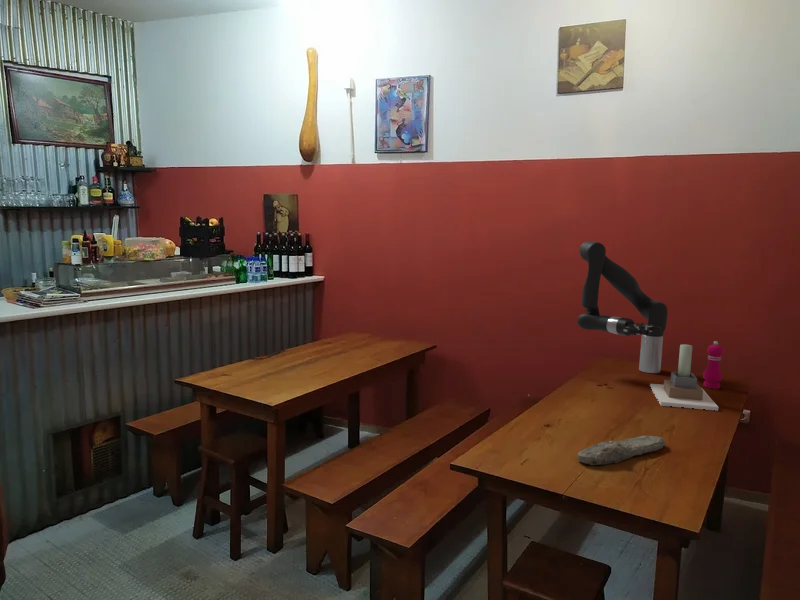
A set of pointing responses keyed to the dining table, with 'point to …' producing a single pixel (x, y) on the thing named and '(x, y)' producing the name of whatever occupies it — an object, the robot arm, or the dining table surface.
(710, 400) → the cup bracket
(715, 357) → the pepper mill
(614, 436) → the dining table surface
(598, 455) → the elongated rock
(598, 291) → the robot arm
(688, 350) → the green dowel
